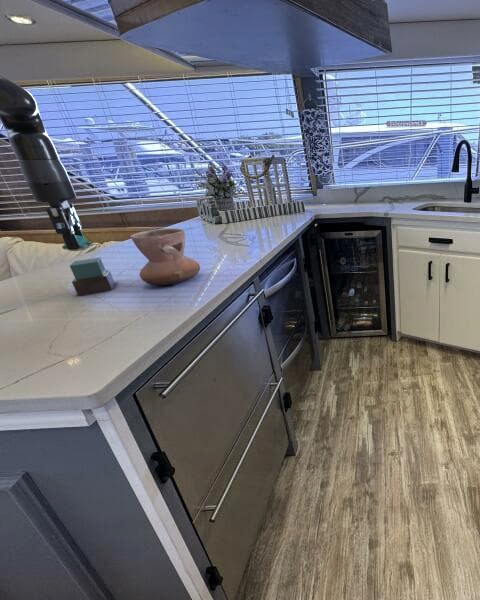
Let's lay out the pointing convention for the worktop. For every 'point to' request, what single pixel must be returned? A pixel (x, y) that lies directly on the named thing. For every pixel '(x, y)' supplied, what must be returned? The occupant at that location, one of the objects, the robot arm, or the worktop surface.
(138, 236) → the ceramic jug
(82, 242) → the toy turtle
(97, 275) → the green block
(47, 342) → the worktop surface
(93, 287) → the walnut block
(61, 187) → the robot arm
